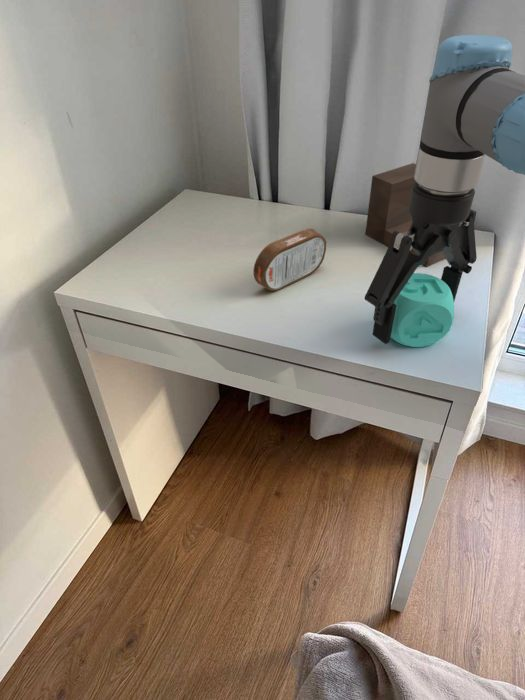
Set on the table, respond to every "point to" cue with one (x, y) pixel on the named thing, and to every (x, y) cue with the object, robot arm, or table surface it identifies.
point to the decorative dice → (423, 311)
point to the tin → (289, 259)
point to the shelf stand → (393, 207)
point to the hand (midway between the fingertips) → (413, 322)
